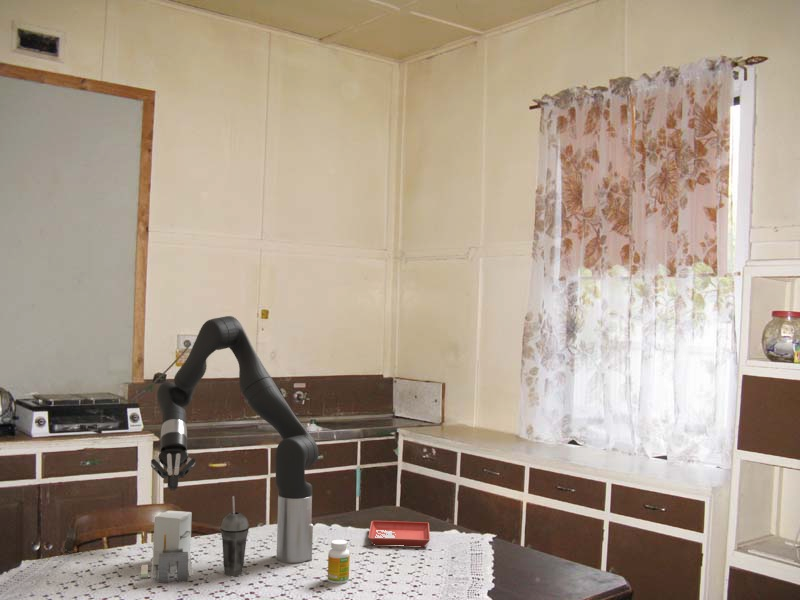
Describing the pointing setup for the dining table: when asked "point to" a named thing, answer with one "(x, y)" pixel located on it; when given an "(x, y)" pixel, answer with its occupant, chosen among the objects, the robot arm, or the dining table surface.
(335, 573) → the supplement bottle
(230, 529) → the beverage cup
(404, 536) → the plant saucer
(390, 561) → the dining table surface
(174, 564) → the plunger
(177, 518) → the supplement box
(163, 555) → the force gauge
